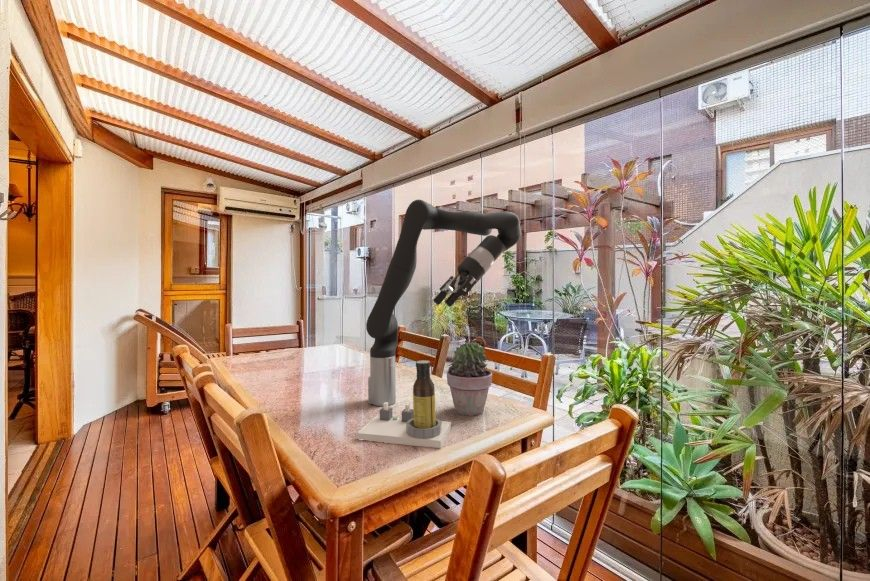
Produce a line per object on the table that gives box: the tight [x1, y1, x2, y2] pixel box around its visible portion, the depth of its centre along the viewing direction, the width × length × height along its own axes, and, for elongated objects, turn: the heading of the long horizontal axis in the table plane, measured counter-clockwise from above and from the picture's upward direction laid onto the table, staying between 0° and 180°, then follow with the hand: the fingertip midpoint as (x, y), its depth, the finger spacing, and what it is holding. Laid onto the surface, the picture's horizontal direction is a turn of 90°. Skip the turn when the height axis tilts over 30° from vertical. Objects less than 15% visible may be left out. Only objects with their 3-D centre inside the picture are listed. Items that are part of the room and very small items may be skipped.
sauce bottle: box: [412, 359, 437, 429], centre depth 107 cm, size 6×6×20 cm
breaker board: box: [356, 402, 452, 449], centre depth 110 cm, size 24×14×7 cm, turn 77°
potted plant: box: [445, 335, 493, 416], centre depth 129 cm, size 18×20×25 cm
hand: (441, 303), depth 110 cm, fingers open, 8 cm apart
